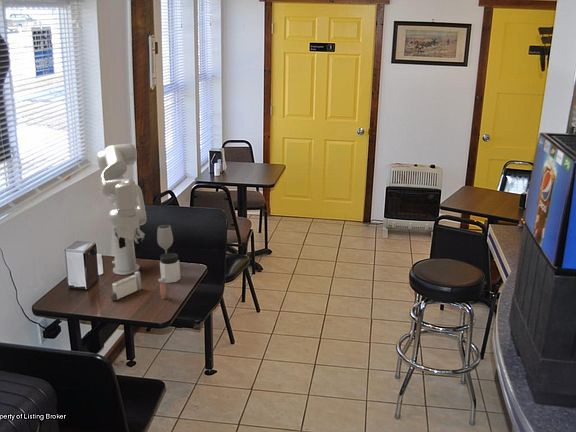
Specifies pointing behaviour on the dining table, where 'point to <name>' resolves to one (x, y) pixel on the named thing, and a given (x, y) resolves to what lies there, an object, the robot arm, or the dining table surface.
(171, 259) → the jar
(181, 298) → the dining table surface
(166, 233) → the wineglass
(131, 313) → the dining table surface
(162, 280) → the end post
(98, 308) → the dining table surface
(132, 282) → the gate
